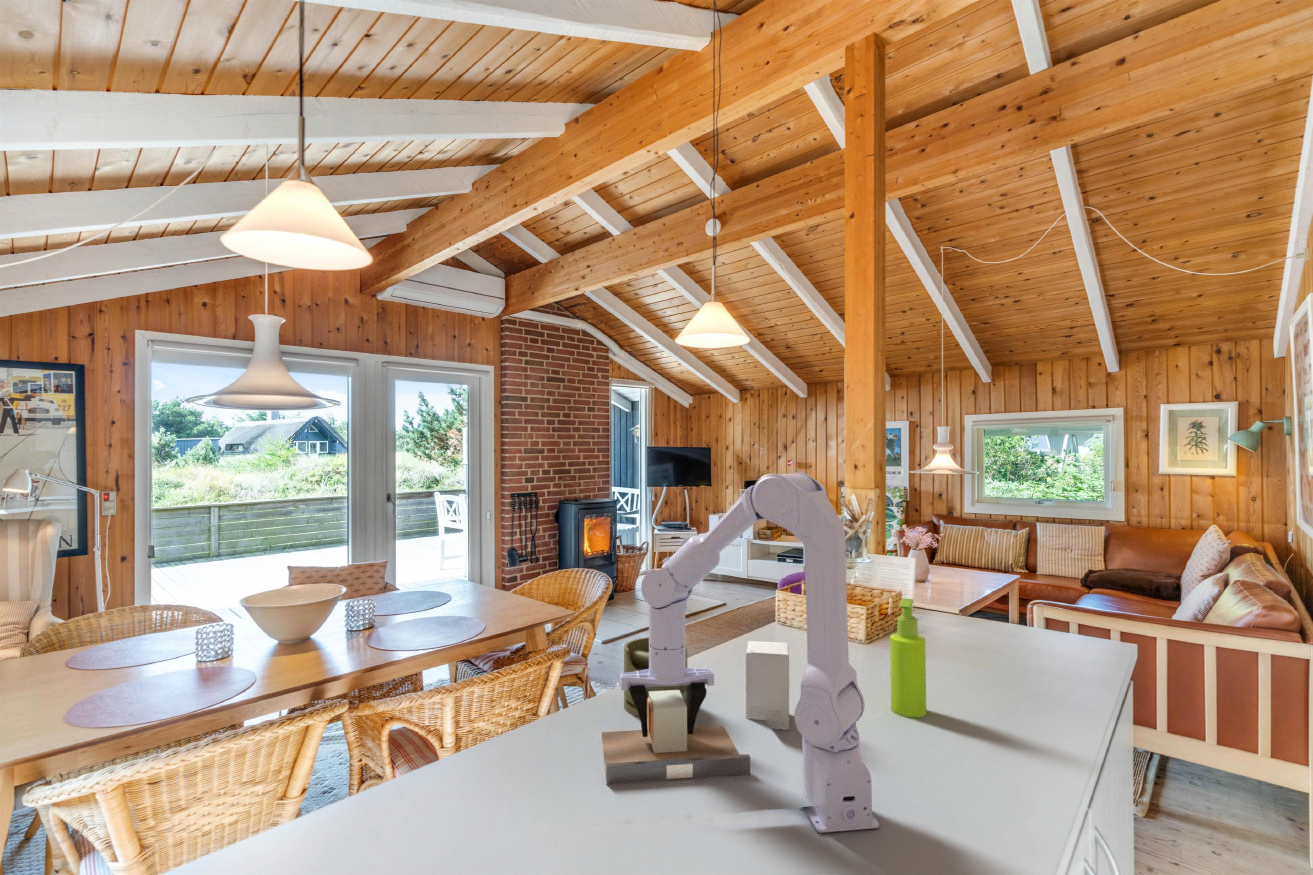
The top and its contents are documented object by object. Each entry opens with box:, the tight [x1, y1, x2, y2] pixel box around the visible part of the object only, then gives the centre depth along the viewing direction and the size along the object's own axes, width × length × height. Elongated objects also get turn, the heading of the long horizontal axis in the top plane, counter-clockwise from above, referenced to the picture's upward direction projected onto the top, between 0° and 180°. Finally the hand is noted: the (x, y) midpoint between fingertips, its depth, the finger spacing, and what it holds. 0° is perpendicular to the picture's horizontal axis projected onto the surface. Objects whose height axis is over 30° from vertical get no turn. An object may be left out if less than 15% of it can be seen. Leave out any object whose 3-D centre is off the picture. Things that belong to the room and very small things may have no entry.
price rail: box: [605, 754, 751, 785], centre depth 85 cm, size 1×20×2 cm, turn 97°
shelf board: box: [601, 724, 744, 786], centre depth 93 cm, size 16×20×2 cm
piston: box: [623, 636, 688, 718], centre depth 111 cm, size 11×12×11 cm
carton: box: [647, 690, 687, 753], centre depth 97 cm, size 5×7×6 cm
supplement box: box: [745, 640, 790, 731], centre depth 108 cm, size 7×7×13 cm
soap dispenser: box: [889, 597, 927, 719], centre depth 111 cm, size 6×7×20 cm
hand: (667, 732), depth 97 cm, fingers open, 6 cm apart
